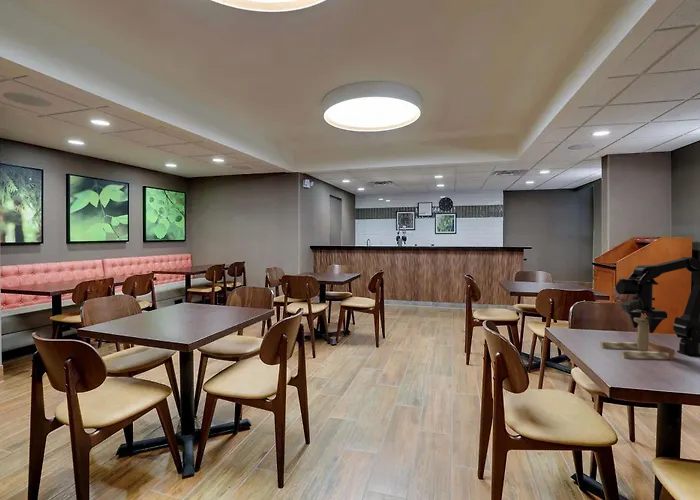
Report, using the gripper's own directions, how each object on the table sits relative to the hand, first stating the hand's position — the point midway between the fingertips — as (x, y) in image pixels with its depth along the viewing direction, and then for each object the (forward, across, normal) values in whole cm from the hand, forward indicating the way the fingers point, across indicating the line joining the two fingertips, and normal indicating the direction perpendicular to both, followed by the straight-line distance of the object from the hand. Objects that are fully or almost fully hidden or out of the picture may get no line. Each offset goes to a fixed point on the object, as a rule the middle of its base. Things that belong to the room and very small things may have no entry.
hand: (643, 330), depth 159 cm
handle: (+10, 0, 0) cm, 10 cm away
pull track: (+10, 0, -3) cm, 10 cm away
